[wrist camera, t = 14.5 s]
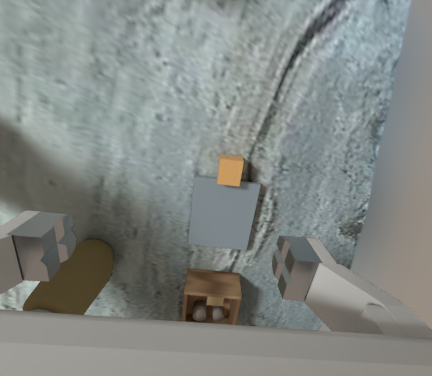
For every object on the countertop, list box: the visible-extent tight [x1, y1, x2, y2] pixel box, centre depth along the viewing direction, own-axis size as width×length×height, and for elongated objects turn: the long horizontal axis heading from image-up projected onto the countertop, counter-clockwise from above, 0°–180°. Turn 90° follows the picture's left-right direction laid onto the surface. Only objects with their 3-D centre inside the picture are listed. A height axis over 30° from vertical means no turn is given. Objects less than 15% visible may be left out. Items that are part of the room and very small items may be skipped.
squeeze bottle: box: [23, 239, 114, 315], centre depth 31 cm, size 8×8×18 cm
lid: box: [188, 154, 261, 250], centre depth 34 cm, size 9×15×3 cm, turn 173°
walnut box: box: [182, 268, 242, 325], centre depth 40 cm, size 9×11×5 cm
